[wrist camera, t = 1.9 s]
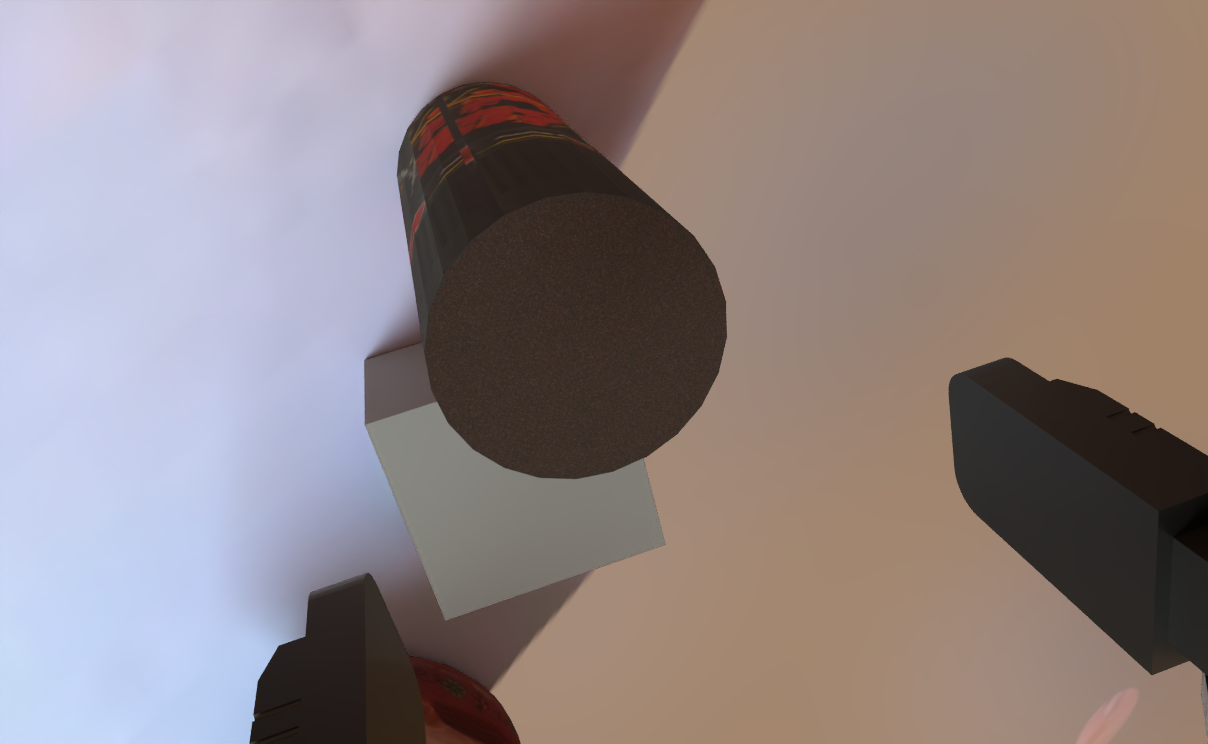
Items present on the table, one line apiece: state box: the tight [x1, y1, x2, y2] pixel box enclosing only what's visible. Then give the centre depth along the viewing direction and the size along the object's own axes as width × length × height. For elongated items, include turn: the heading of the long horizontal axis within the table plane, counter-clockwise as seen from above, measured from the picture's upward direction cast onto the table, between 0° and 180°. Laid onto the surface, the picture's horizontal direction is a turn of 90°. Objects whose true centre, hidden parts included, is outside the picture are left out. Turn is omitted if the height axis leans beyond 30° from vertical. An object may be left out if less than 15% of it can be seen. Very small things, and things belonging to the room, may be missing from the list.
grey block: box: [364, 342, 665, 621], centre depth 33 cm, size 8×8×5 cm
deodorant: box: [397, 82, 727, 479], centre depth 25 cm, size 6×6×15 cm
